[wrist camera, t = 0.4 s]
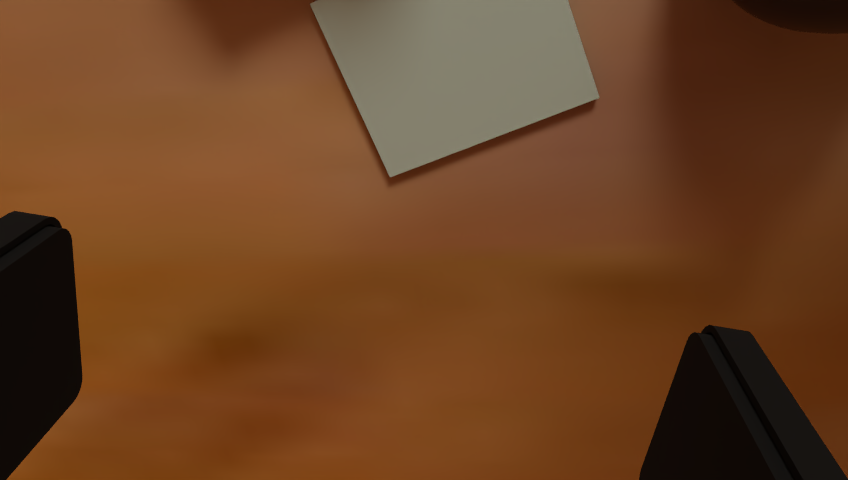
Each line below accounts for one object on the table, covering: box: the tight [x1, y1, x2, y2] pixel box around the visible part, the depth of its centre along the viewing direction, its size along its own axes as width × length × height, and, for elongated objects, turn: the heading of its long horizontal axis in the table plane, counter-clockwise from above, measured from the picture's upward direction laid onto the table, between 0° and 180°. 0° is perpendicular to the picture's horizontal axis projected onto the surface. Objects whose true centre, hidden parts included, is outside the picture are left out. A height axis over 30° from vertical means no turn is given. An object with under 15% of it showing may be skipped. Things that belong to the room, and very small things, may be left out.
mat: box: [310, 0, 599, 177], centre depth 36 cm, size 12×10×1 cm
